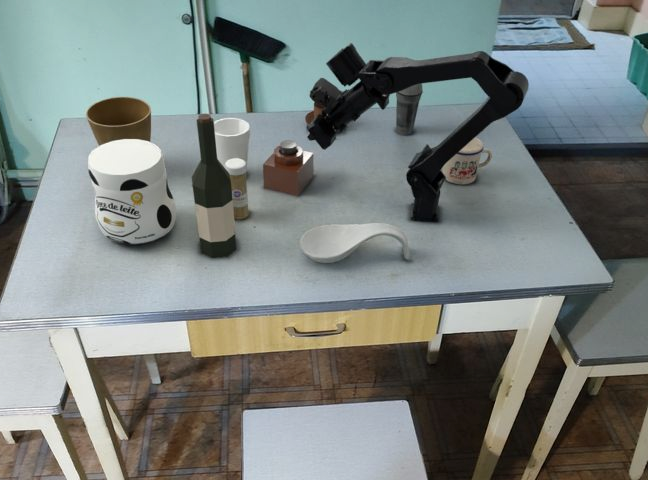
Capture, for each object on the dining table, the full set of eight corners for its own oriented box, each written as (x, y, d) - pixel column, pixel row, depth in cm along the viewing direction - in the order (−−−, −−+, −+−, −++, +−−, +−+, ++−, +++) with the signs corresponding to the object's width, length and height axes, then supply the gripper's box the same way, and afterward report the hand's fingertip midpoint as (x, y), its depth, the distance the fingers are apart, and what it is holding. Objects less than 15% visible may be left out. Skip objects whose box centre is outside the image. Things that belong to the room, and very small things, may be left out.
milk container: (101, 257, 143) (82, 182, 131) (98, 213, 155) (80, 141, 142) (183, 245, 147) (172, 172, 134) (174, 203, 159) (163, 132, 146)
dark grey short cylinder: (299, 150, 162) (299, 142, 160) (292, 158, 159) (292, 149, 158) (284, 147, 163) (284, 138, 161) (277, 154, 160) (277, 146, 159)
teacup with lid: (445, 186, 167) (453, 143, 159) (437, 167, 173) (444, 125, 165) (492, 184, 168) (502, 141, 160) (482, 166, 174) (491, 123, 166)
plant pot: (89, 169, 169) (74, 108, 158) (141, 150, 176) (130, 91, 165) (119, 193, 161) (105, 131, 150) (172, 173, 168) (162, 112, 157)
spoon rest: (301, 272, 141) (301, 244, 136) (299, 239, 150) (299, 212, 144) (412, 270, 142) (416, 243, 137) (404, 238, 151) (408, 211, 146)
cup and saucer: (338, 112, 194) (339, 92, 190) (354, 131, 186) (355, 110, 182) (299, 118, 191) (299, 97, 187) (314, 137, 183) (314, 116, 179)
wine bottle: (231, 260, 143) (219, 129, 122) (193, 255, 144) (175, 124, 123) (242, 238, 149) (232, 109, 128) (206, 233, 150) (190, 104, 129)
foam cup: (209, 182, 166) (204, 133, 157) (222, 164, 172) (217, 115, 163) (245, 187, 164) (242, 138, 155) (257, 169, 171) (254, 120, 162)
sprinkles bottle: (231, 221, 154) (227, 169, 144) (227, 210, 157) (223, 158, 147) (251, 218, 155) (248, 166, 145) (246, 208, 158) (243, 156, 148)
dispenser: (313, 176, 169) (313, 145, 163) (297, 196, 162) (297, 164, 156) (280, 169, 171) (280, 138, 165) (263, 188, 164) (262, 156, 158)
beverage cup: (417, 125, 190) (426, 54, 176) (417, 138, 185) (427, 65, 170) (391, 124, 190) (399, 52, 176) (391, 136, 185) (398, 63, 171)
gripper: (348, 55, 149) (302, 94, 160) (316, 87, 137) (269, 127, 147) (378, 96, 153) (331, 131, 163) (350, 131, 141) (301, 167, 151)
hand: (308, 138), depth 156 cm, fingers closed
